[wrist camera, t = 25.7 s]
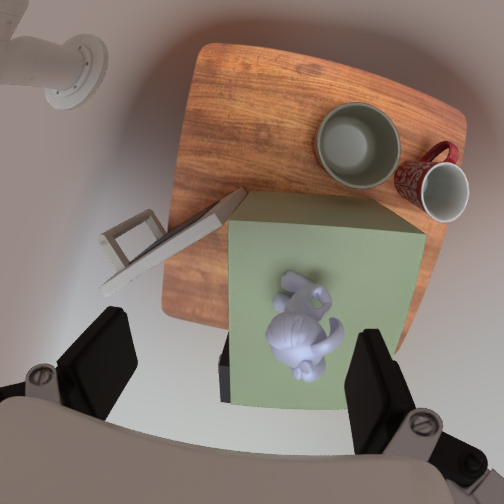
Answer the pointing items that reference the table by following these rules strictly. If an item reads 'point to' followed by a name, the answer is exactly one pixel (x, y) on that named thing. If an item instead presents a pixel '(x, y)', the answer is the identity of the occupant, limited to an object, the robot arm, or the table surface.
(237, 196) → the microwave door
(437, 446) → the robot arm
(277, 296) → the toy figurine
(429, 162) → the mug
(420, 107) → the table surface
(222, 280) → the table surface
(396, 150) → the planter
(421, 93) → the table surface
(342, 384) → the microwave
